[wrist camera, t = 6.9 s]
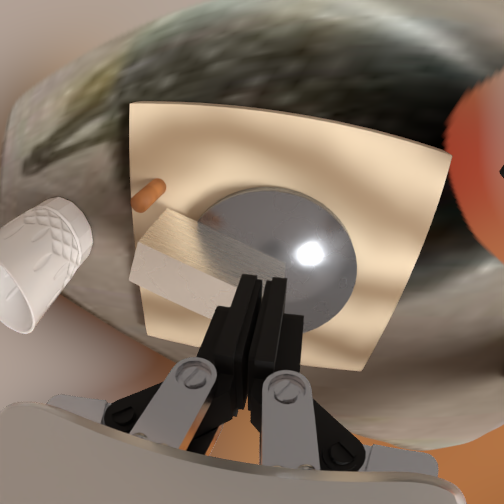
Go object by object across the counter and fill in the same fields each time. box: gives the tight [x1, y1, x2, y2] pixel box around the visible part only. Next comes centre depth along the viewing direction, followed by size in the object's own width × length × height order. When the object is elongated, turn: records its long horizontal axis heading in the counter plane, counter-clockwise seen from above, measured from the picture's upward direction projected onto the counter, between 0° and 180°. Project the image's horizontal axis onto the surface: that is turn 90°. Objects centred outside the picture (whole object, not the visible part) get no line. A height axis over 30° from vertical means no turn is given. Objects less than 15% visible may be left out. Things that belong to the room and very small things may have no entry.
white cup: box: [0, 197, 93, 334], centre depth 21 cm, size 8×8×10 cm
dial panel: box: [129, 101, 452, 371], centre depth 22 cm, size 21×21×4 cm
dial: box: [129, 187, 357, 333], centre depth 20 cm, size 14×12×5 cm
